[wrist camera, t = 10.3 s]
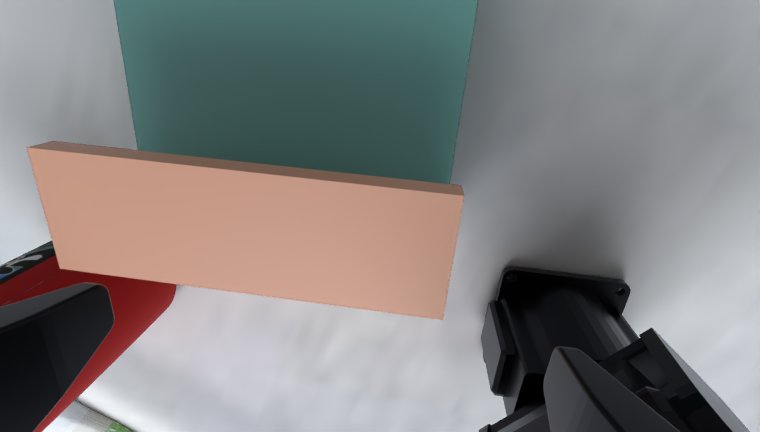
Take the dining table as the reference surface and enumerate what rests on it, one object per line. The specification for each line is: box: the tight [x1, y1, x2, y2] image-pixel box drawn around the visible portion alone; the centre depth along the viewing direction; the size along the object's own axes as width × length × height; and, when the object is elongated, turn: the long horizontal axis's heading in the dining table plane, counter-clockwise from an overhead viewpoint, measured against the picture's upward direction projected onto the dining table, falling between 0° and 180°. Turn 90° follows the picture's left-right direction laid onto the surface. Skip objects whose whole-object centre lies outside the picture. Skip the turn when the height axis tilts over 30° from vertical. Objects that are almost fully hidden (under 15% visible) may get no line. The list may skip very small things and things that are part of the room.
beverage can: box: [0, 241, 176, 432], centre depth 18 cm, size 7×7×12 cm
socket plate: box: [27, 0, 478, 320], centre depth 14 cm, size 14×17×8 cm
